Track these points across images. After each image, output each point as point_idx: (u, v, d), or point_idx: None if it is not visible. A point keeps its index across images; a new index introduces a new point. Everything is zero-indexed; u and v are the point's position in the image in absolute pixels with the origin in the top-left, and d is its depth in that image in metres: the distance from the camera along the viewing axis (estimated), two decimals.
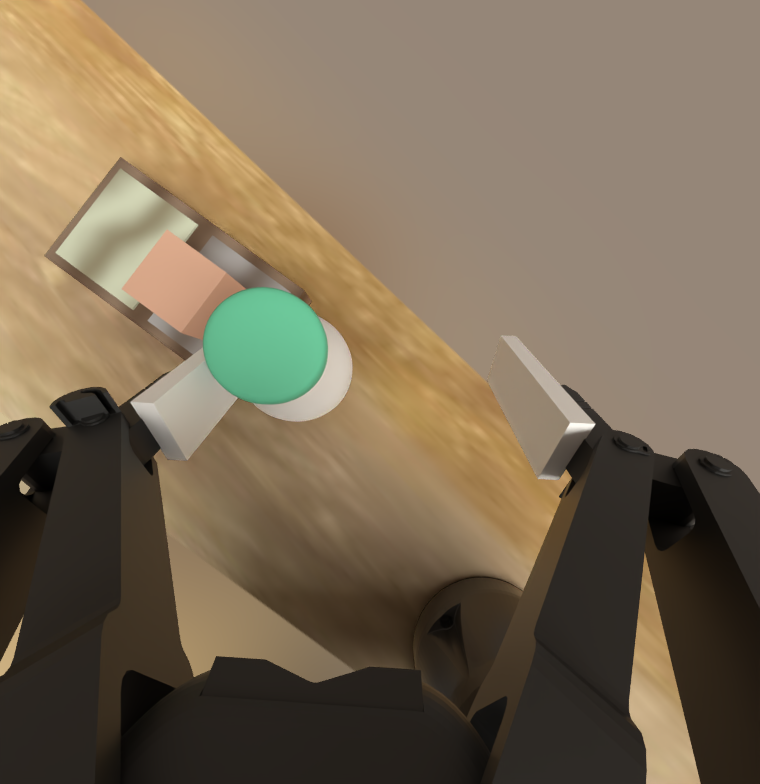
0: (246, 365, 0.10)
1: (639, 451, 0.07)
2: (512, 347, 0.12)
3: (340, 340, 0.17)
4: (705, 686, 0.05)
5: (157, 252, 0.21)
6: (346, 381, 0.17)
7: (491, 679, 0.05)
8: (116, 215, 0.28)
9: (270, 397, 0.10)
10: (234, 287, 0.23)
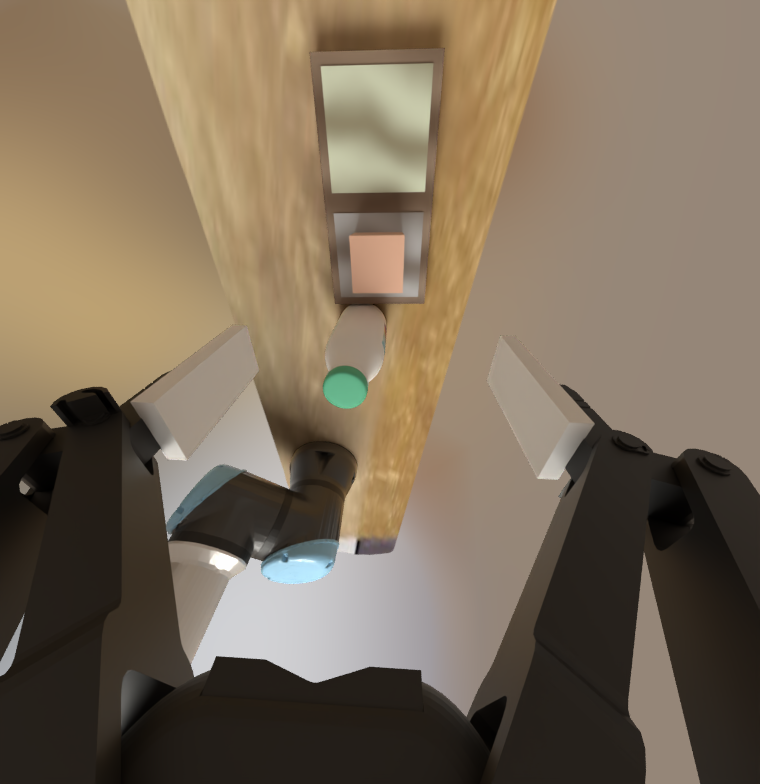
0: (334, 391, 0.27)
1: (638, 451, 0.07)
2: (511, 347, 0.12)
3: (375, 374, 0.33)
4: (704, 686, 0.05)
5: (386, 241, 0.29)
6: None
7: (491, 679, 0.05)
8: (389, 104, 0.28)
9: (330, 401, 0.28)
10: None
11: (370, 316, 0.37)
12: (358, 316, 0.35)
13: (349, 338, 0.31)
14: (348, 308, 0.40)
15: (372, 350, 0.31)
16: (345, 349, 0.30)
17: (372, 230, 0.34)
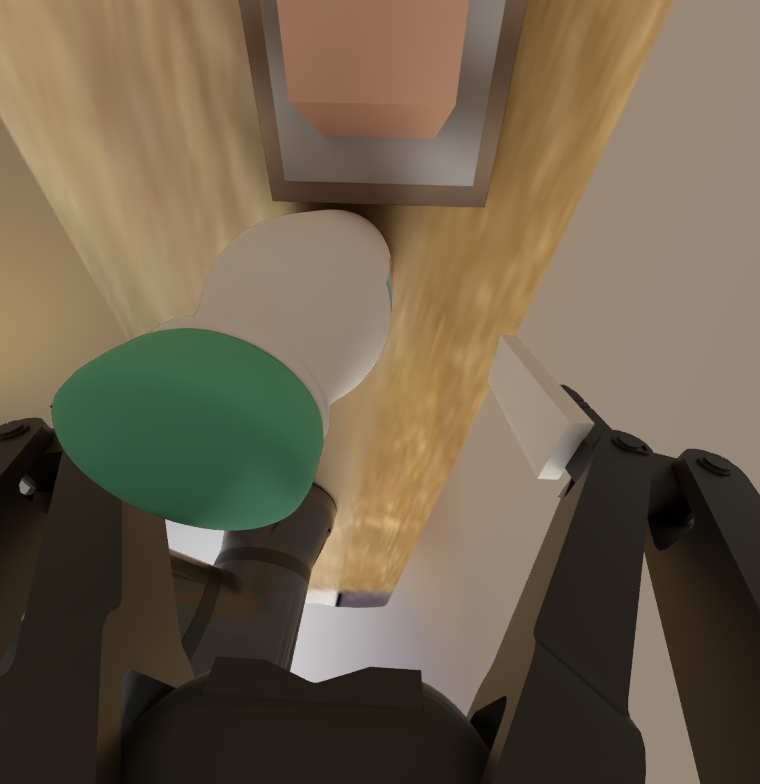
0: (126, 468, 0.05)
1: (638, 451, 0.07)
2: (511, 347, 0.12)
3: (364, 376, 0.11)
4: (704, 686, 0.05)
5: None
6: None
7: (491, 679, 0.05)
8: None
9: (134, 505, 0.06)
10: (433, 118, 0.11)
11: (356, 222, 0.14)
12: (322, 212, 0.13)
13: (270, 239, 0.08)
14: None
15: (355, 292, 0.09)
16: (244, 273, 0.07)
17: None
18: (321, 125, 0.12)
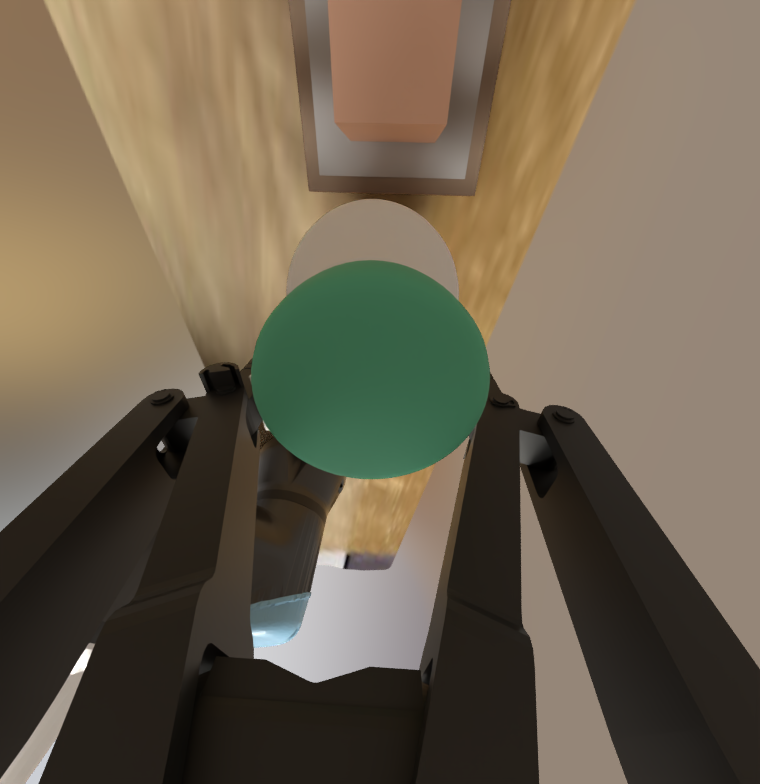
0: (315, 396, 0.05)
1: (508, 406, 0.09)
2: None
3: None
4: (585, 607, 0.06)
5: None
6: None
7: (427, 644, 0.05)
8: None
9: (290, 446, 0.06)
10: (433, 131, 0.16)
11: None
12: None
13: (376, 213, 0.09)
14: None
15: (448, 268, 0.09)
16: (365, 237, 0.08)
17: None
18: (351, 134, 0.17)
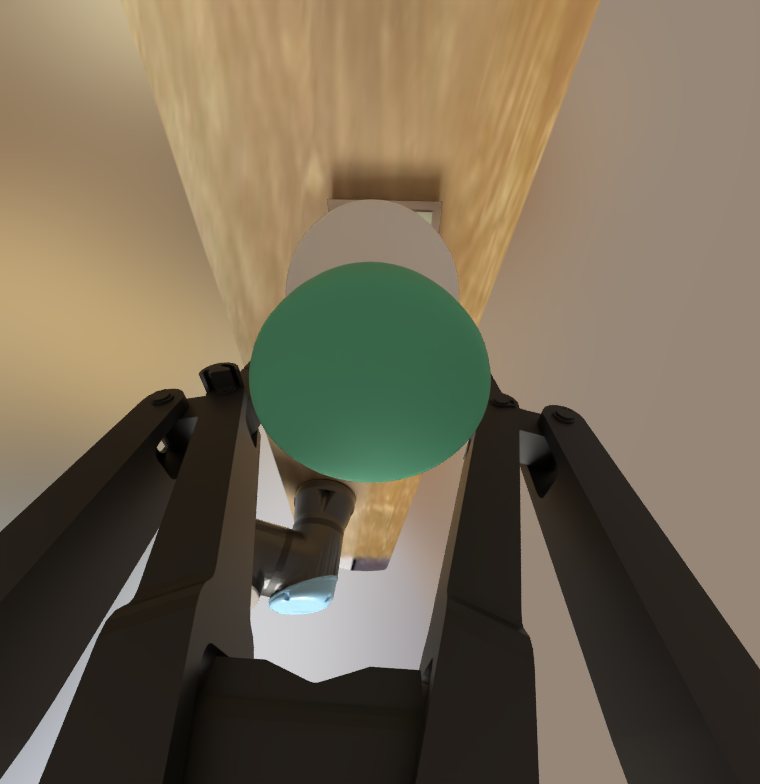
0: (313, 400, 0.05)
1: (508, 406, 0.09)
2: None
3: None
4: (585, 607, 0.06)
5: None
6: None
7: (427, 644, 0.05)
8: None
9: (289, 450, 0.06)
10: None
11: None
12: None
13: (376, 213, 0.09)
14: None
15: (448, 268, 0.09)
16: (364, 238, 0.08)
17: None
18: None
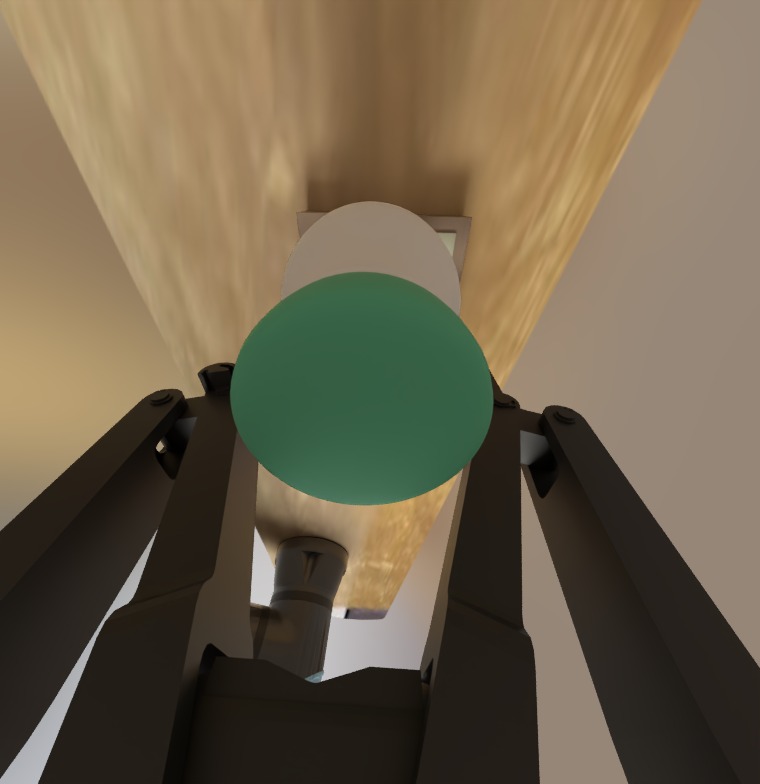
0: (300, 422, 0.04)
1: (509, 406, 0.09)
2: None
3: None
4: (586, 607, 0.06)
5: None
6: None
7: (428, 644, 0.05)
8: None
9: (276, 472, 0.05)
10: None
11: None
12: None
13: (374, 216, 0.08)
14: None
15: (449, 274, 0.09)
16: (361, 243, 0.07)
17: None
18: None
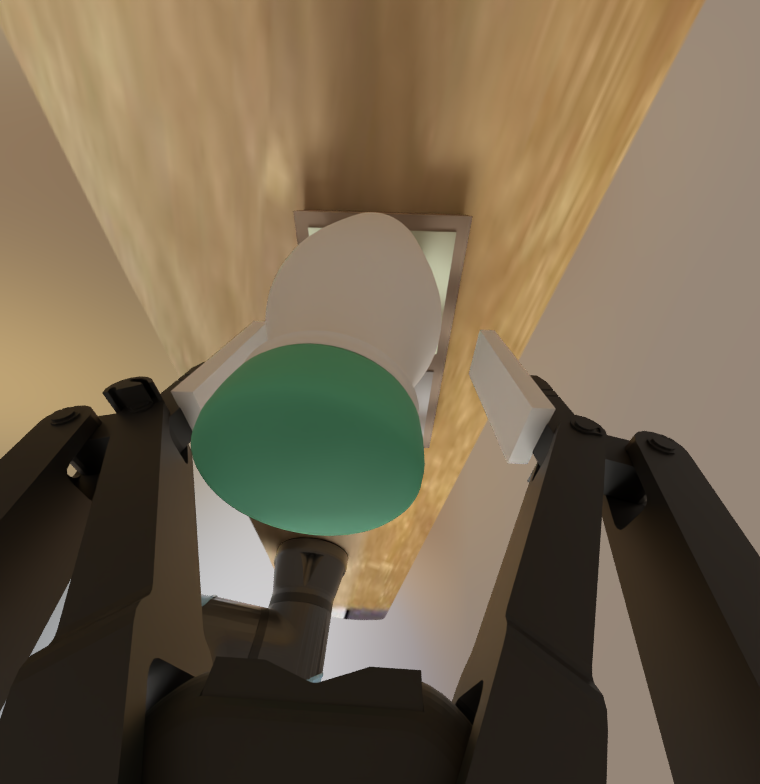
0: (251, 477, 0.05)
1: (593, 433, 0.08)
2: (489, 340, 0.13)
3: None
4: (663, 655, 0.05)
5: None
6: None
7: (471, 665, 0.05)
8: None
9: (239, 509, 0.06)
10: None
11: (403, 228, 0.14)
12: (374, 217, 0.13)
13: (348, 249, 0.08)
14: None
15: (424, 303, 0.09)
16: (330, 283, 0.08)
17: None
18: None
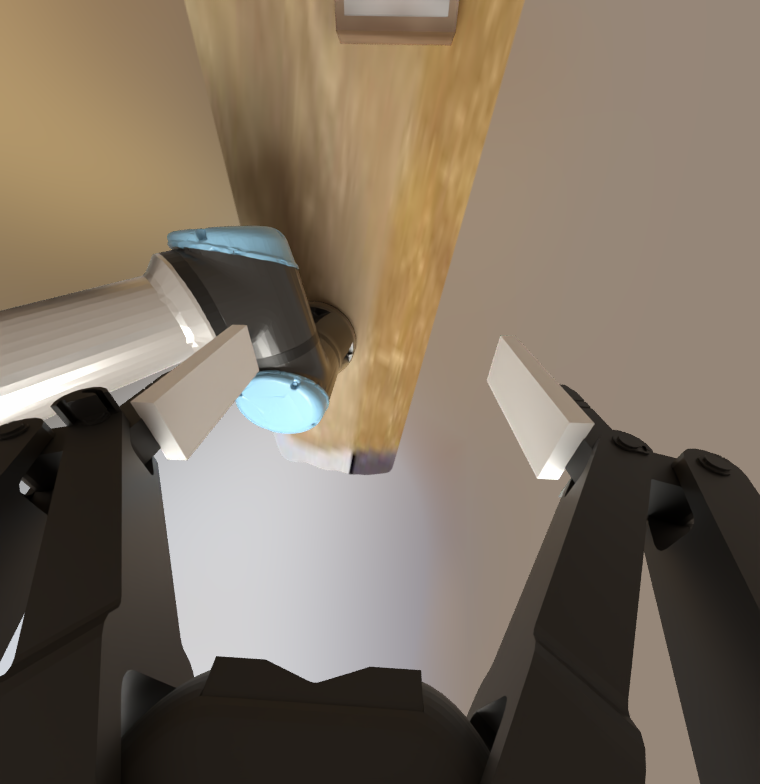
0: None
1: (638, 451, 0.07)
2: (511, 347, 0.12)
3: None
4: (704, 685, 0.05)
5: None
6: None
7: (491, 679, 0.05)
8: None
9: None
10: None
11: None
12: None
13: None
14: None
15: None
16: None
17: None
18: None
